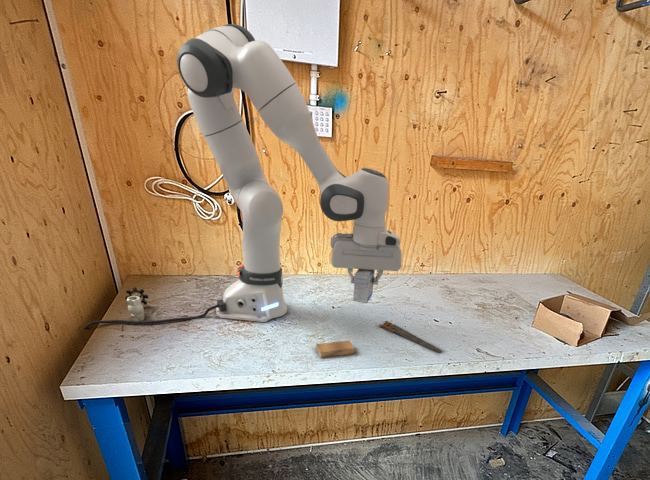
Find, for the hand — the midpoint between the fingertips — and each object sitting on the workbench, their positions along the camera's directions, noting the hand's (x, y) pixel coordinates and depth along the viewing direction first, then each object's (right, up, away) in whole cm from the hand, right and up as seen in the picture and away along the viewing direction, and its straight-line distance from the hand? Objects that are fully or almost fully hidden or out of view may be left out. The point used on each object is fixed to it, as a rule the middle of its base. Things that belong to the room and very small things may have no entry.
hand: (364, 283), depth 128 cm
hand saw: (+13, -15, +7) cm, 21 cm away
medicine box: (-1, -4, +3) cm, 5 cm away
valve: (-70, -8, +7) cm, 71 cm away
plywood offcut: (-8, -21, -4) cm, 23 cm away
